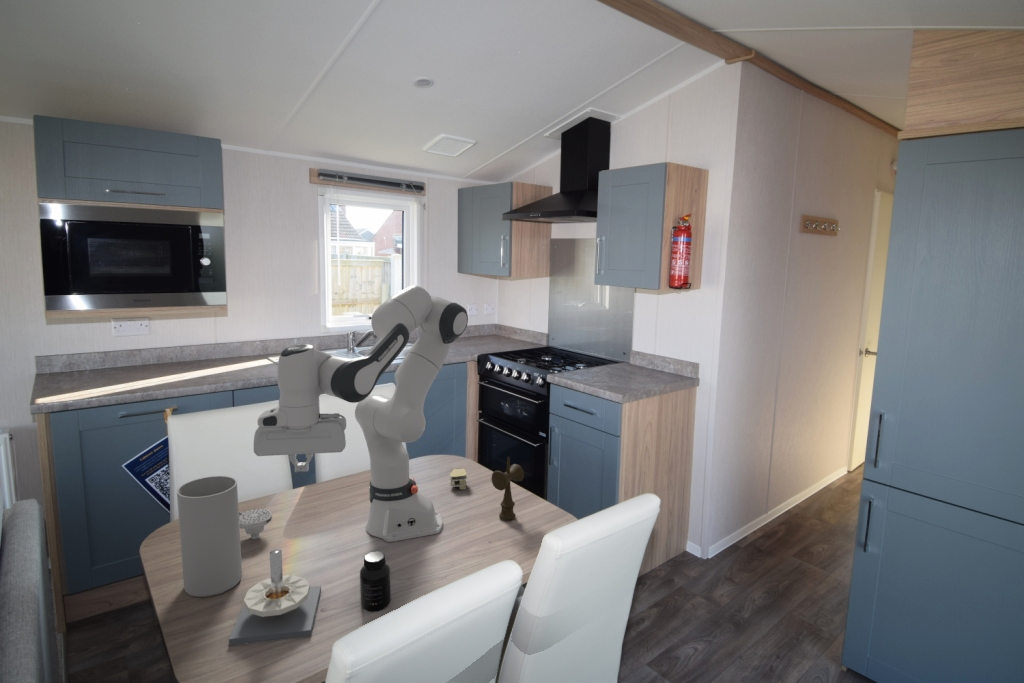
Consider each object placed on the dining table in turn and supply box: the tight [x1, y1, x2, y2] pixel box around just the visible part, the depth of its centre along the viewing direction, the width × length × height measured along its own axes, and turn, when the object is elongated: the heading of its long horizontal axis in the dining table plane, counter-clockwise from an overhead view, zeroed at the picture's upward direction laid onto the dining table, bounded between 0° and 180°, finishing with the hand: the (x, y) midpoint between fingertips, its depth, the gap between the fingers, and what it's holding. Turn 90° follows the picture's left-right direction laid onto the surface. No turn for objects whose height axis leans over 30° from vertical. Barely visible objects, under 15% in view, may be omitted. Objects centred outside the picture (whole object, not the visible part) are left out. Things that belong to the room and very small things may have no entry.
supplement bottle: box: [359, 550, 392, 613], centre depth 127 cm, size 7×7×12 cm
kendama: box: [490, 456, 525, 521], centre depth 169 cm, size 6×10×20 cm, turn 140°
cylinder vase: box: [176, 475, 243, 598], centre depth 132 cm, size 12×12×25 cm
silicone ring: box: [243, 574, 311, 617], centre depth 121 cm, size 13×13×1 cm
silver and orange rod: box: [266, 548, 289, 599], centre depth 121 cm, size 6×6×14 cm
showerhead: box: [239, 508, 273, 540], centre depth 156 cm, size 9×7×10 cm
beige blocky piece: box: [449, 468, 468, 490], centre depth 193 cm, size 10×9×6 cm
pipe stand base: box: [228, 585, 322, 646], centre depth 122 cm, size 16×16×2 cm
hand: (301, 470), depth 130 cm, fingers closed
